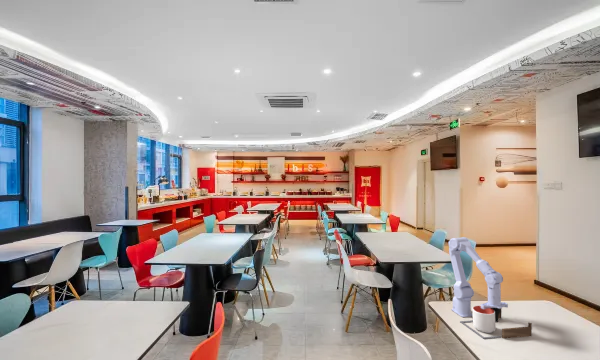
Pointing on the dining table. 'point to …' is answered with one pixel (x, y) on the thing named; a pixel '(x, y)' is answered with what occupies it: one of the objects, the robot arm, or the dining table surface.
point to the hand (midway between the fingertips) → (494, 321)
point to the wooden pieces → (516, 331)
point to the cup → (484, 319)
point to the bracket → (477, 332)
